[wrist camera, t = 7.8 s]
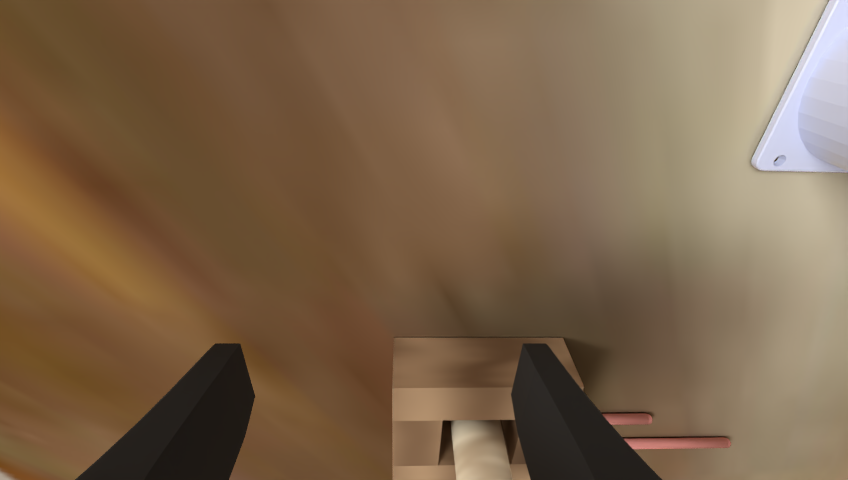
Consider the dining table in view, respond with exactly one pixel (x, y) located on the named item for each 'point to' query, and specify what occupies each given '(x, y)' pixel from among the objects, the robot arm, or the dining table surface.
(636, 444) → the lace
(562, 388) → the robot arm
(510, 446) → the wooden square frame
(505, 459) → the tan round log
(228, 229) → the dining table surface
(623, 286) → the dining table surface
